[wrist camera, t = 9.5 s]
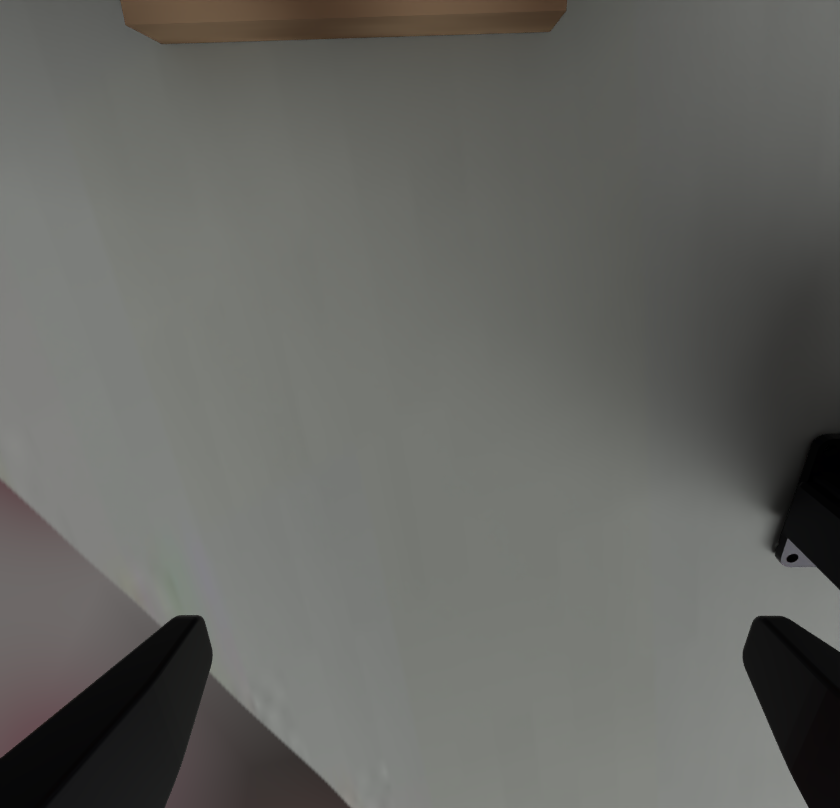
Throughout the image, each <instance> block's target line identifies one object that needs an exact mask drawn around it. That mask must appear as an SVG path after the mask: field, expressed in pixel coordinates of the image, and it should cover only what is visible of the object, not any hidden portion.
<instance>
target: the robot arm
mask: <svg viewBox="0 0 840 808" xmlns="http://www.w3.org/2000/svg"><path fill="white" fill-rule="evenodd" d="M828 445H830V446H829V447H828V448H827V449H826V450H824V449H825V448H826V447H827V446H828ZM790 554H791V555H790ZM775 556H776V558H777V559H778V560H779V562H780V563H781V564H782V565H784V566H786V567H817V568H818V569H819V570H820V571H821V572H822V573H823V574H824V575H825V576H826V577H827V578H828V579H829V580H830V581H831V582H832V583H833V584H834V585H835V586H836V587H837V588H838V589H839V590H840V434H825V435H821V436H819V437H817V438H816V439H815V440H814V441H813V443H812V444H811V447H810V450H809V453H808V456H807V459H806V462H805V465H804V468H803V471H802V474H801V477H800V480H799V483H798V486H797V489H796V492H795V495H794V498H793V501H792V504H791V507H790V510H789V513H788V516H787V519H786V522H785V525H784V528H783V531H782V534H781V537H780V540H779V543H778V546H777V549H776V552H775ZM212 656H213V654H212V647H211V643H210V639H209V635H208V632H207V628H206V624H205V621H204V619H203V618H202V617H201V616H199V615H179V616H176V617H174V618H173V619H171V620H170V621H169V622H167V623H166V624H165V625H164V626H163V627H161V628H160V629H159V630H158V631H157V632H155V633H154V634H153V635H151V636H150V637H149V638H148V639H147V640H145V641H144V642H143V643H142V644H140V645H139V646H138V647H137V648H135V649H134V650H133V651H132V652H131V653H130V654H128V655H127V656H126V657H124V658H123V659H122V660H121V661H119V662H118V663H117V664H116V665H115V666H113V667H112V668H111V669H110V670H108V671H107V672H106V673H105V674H104V675H102V676H101V677H100V678H99V679H97V680H96V681H95V682H94V683H92V684H91V685H90V686H89V687H88V688H86V689H85V690H84V691H83V692H81V693H80V694H79V695H78V696H77V697H75V698H74V699H73V700H71V701H70V702H69V703H68V704H67V705H65V706H64V707H63V708H62V709H60V710H59V711H58V712H57V713H56V714H54V715H53V716H52V717H51V718H49V719H48V720H47V721H46V722H44V723H43V724H42V725H41V726H40V727H38V728H37V729H36V730H35V731H33V732H32V733H31V734H30V735H29V736H27V737H26V738H25V739H24V740H22V741H21V742H20V743H19V744H17V745H16V746H15V747H14V748H13V749H11V750H10V751H9V752H8V753H6V754H5V755H4V756H3V757H1V758H0V808H165V805H166V803H167V800H168V798H169V796H170V793H171V791H172V788H173V786H174V783H175V780H176V778H177V775H178V772H179V770H180V767H181V764H182V761H183V758H184V755H185V752H186V748H187V745H188V742H189V738H190V735H191V731H192V728H193V725H194V722H195V718H196V715H197V711H198V708H199V705H200V701H201V698H202V695H203V691H204V688H205V684H206V681H207V678H208V674H209V671H210V668H211V664H212ZM743 663H744V666H745V669H746V672H747V674H748V676H749V679H750V681H751V683H752V686H753V688H754V690H755V693H756V695H757V697H758V700H759V702H760V704H761V707H762V709H763V711H764V714H765V716H766V718H767V721H768V723H769V725H770V728H771V730H772V732H773V735H774V737H775V739H776V742H777V744H778V746H779V749H780V751H781V753H782V756H783V758H784V760H785V762H786V764H787V766H788V769H789V771H790V773H791V775H792V777H793V779H794V781H795V783H796V785H797V787H798V789H799V790H800V792H801V794H802V796H803V798H804V800H805V802H806V804H807V805H808V807H809V808H840V652H839V651H837V650H836V649H834V648H833V647H831V646H830V645H828V644H827V643H825V642H824V641H822V640H821V639H819V638H818V637H816V636H814V635H813V634H811V633H810V632H808V631H807V630H805V629H804V628H802V627H801V626H799V625H798V624H796V623H795V622H793V621H791V620H790V619H788V618H786V617H783V616H758V617H756V618H755V619H754V620H753V622H752V625H751V628H750V631H749V634H748V637H747V640H746V643H745V646H744V649H743Z"/></svg>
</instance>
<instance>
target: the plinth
mask: <svg viewBox="0 0 840 808" xmlns="http://www.w3.org/2000/svg"><path fill="white" fill-rule="evenodd" d="M120 1H121V6H122V10H123V15H124V20H125V25H127V26H129V27H130V28H132V29H134V30H136V31H138V32H140V33H142V34H144V35H146V36H148V37H149V38H151V39H153V40H155V41H157V42H159V43H161V44H177V43H209V42H241V41H272V40H304V39H336V38H368V37H400V36H431V35H463V34H495V33H527V32H550V31H551V30H552V29H553V27H554V26H555V25H556V23H557V22H558V21H559V19H560V18H561V17H562V15H563V14H564V13H565V12H566V7H567V0H120Z"/></svg>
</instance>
